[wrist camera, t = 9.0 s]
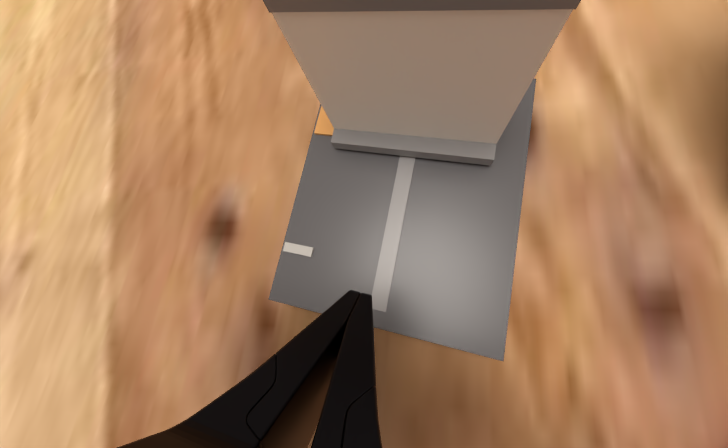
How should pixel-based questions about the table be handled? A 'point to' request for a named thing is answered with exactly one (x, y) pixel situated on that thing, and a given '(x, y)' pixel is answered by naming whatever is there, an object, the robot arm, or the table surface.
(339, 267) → the fader console
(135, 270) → the table surface
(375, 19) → the fader knob
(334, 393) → the robot arm
